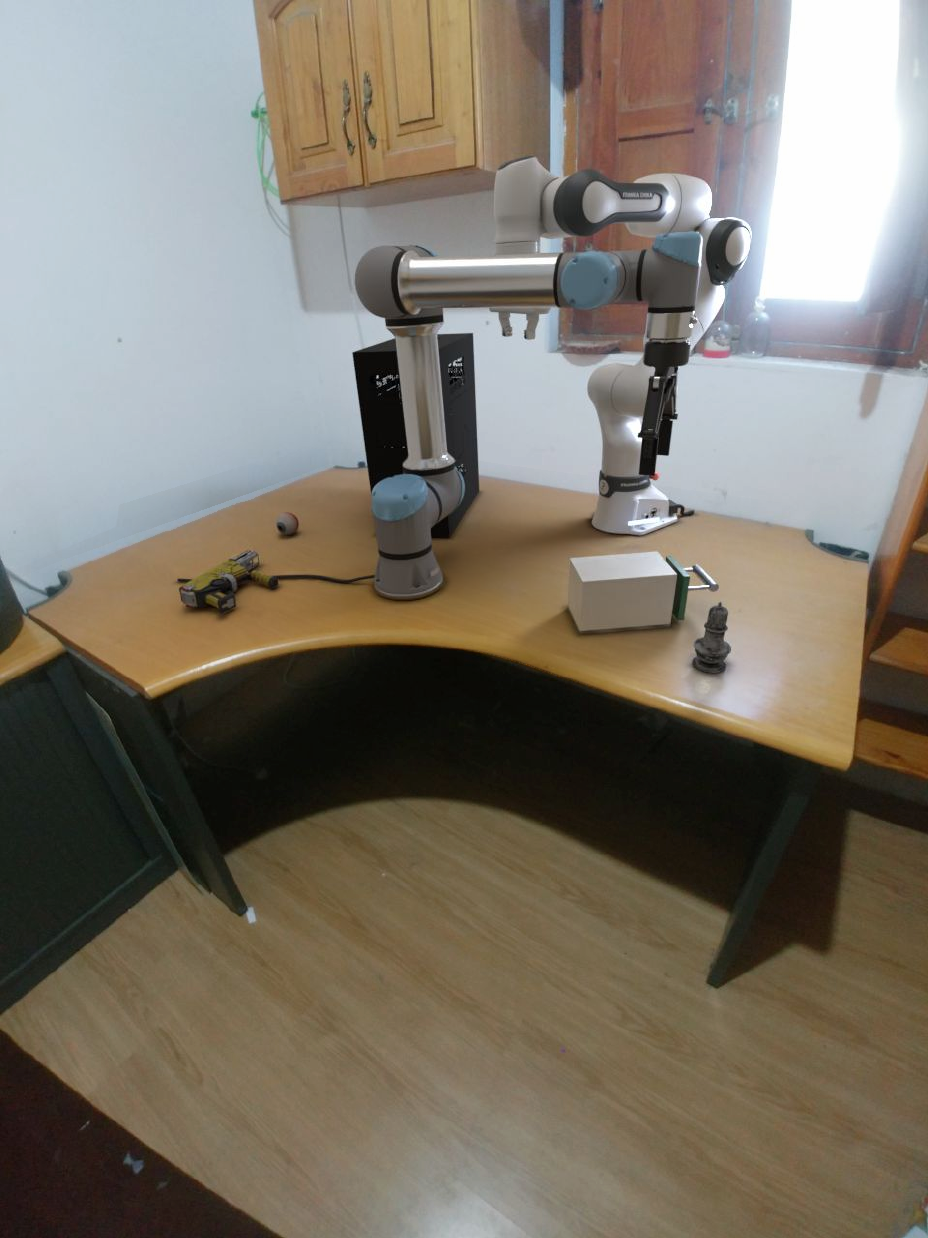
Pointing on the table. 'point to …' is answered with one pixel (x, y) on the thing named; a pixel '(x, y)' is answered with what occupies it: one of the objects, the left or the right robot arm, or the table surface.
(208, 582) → the toy gun
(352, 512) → the table surface
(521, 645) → the table surface
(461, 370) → the black box
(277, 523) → the eyeball
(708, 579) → the drawer
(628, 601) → the cabinet
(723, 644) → the dark grey chess piece
